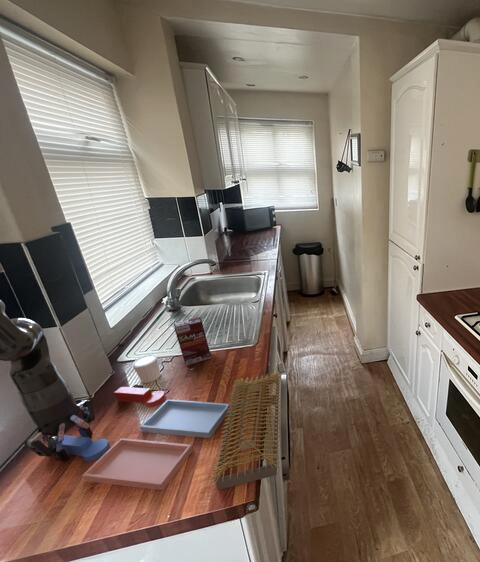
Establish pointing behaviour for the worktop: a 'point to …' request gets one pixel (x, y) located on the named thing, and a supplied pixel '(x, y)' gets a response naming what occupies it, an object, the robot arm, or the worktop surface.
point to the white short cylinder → (147, 368)
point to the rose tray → (139, 464)
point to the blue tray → (186, 418)
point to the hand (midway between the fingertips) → (76, 449)
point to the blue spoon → (85, 447)
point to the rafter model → (243, 406)
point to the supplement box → (192, 340)
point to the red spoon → (140, 396)
